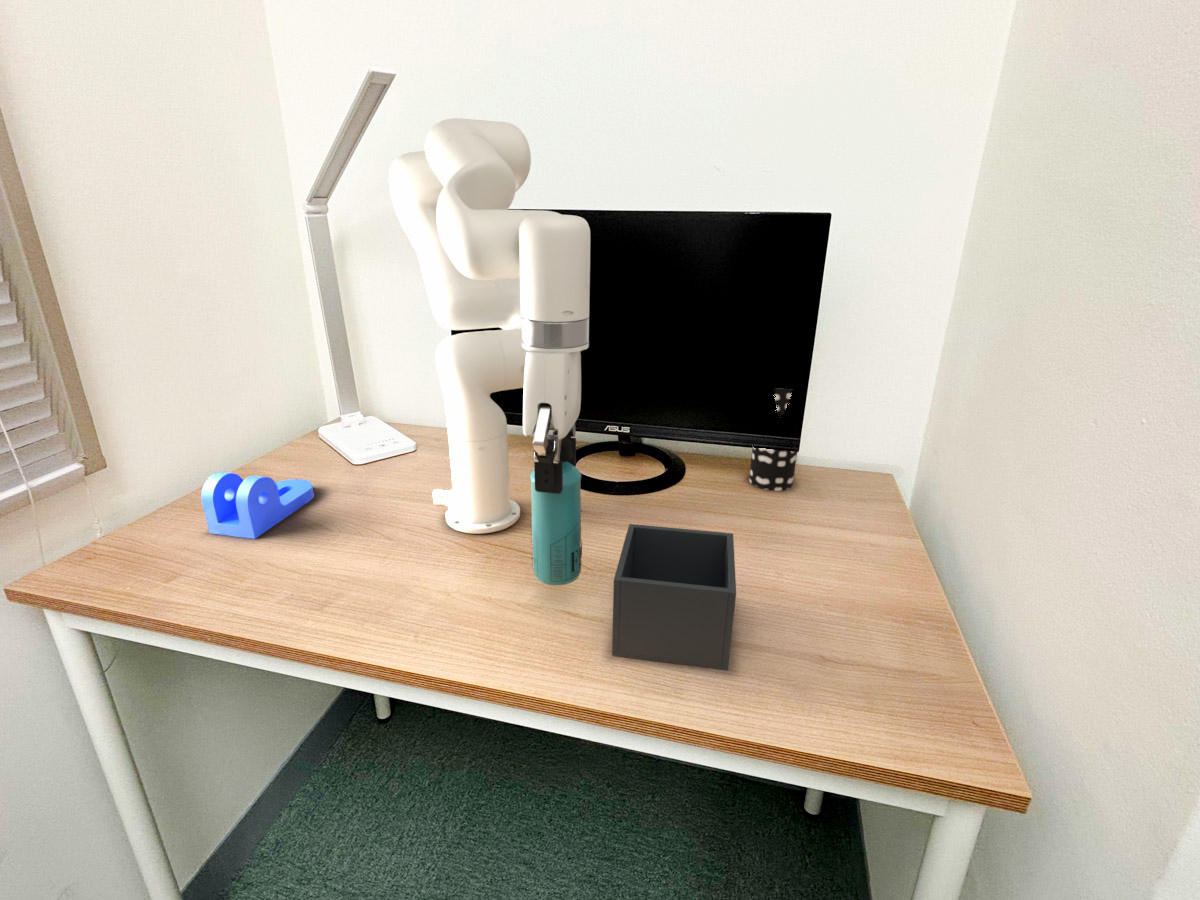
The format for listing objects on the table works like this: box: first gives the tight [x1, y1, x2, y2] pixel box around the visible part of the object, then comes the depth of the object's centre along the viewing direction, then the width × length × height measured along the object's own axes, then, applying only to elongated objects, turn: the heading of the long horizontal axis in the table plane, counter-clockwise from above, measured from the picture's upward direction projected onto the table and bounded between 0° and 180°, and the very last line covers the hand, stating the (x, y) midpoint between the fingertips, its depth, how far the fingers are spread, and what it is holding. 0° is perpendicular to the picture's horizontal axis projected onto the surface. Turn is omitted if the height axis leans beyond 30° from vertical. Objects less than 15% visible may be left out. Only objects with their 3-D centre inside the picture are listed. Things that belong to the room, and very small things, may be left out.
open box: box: [611, 523, 737, 671], centre depth 77 cm, size 14×14×11 cm
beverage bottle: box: [529, 438, 583, 586], centre depth 77 cm, size 6×7×20 cm
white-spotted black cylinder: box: [748, 388, 798, 492], centre depth 117 cm, size 8×8×20 cm
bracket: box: [200, 471, 315, 540], centre depth 106 cm, size 18×8×9 cm, turn 169°
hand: (556, 477), depth 75 cm, fingers closed on beverage bottle, 6 cm apart
